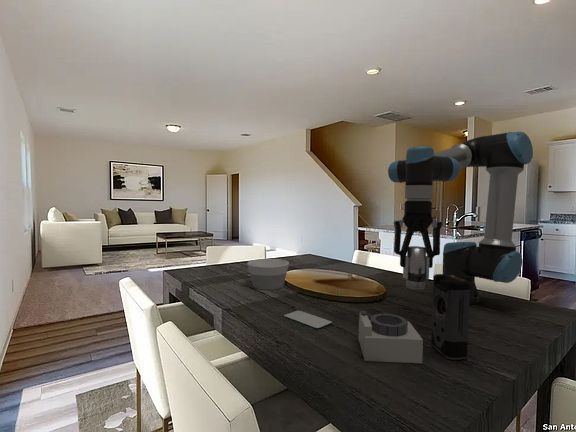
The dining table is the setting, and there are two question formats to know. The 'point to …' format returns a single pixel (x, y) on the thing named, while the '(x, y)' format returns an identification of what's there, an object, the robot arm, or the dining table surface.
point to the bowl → (268, 273)
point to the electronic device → (450, 316)
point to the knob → (416, 267)
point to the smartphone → (308, 320)
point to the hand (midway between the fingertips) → (415, 278)
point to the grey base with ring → (389, 339)
